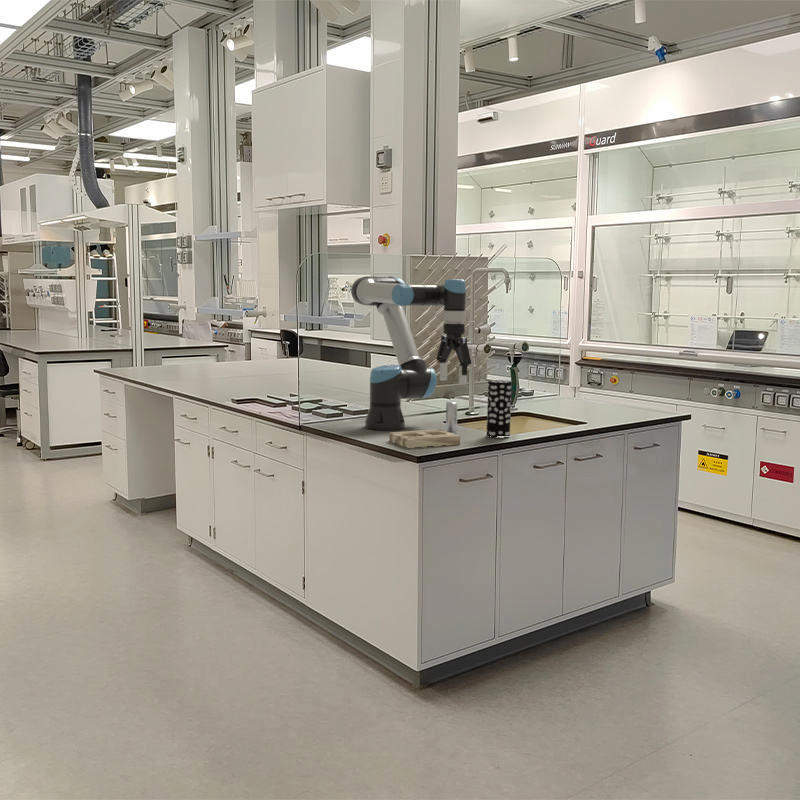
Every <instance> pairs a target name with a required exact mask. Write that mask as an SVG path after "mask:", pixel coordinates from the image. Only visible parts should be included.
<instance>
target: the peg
mask: <svg viewBox="0 0 800 800" xmlns="http://www.w3.org/2000/svg"><path fill="white" fill-rule="evenodd" d="M445 406H446V409H445V410H446V411H445V412H446V413H445V431H447V432H450V433H453V434H456V435H458V434H457V433H458V428H457V427H458V402H457V401H447V402H446V405H445Z"/></svg>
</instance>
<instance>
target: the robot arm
mask: <svg viewBox="0 0 800 800" xmlns="http://www.w3.org/2000/svg"><path fill="white" fill-rule="evenodd" d="M466 284H467V283H466V281H465V280H464V279H463V278H462V279H459V278H458V279H457V278H449V279H448V278H447V279H445V281H444V284H415V283H413V284H412V283H405V281H403V279H402V278H399V277H394V276H369V275H368V276H362V277H359V278H357V279H356V280H354V282H353V283H352V285H351V289H350V295H351V297H352V299H353V300H354V301H355V302H356V303H358V304H359V305H363V306H369V307H371V306H372V307H373V306H374V307H376V310H377V312H378V314H380V315H382V316H383V318H384V321H385V325H386V328H387V329H386V330H387V331H388V335H389V338H390V340H391V344H392V347H393V351H394V354H395V356H396V359H397V362H398V364H391V365H389V364H387V365H381V366H377V367H374V368H372V369H371V371H370V377H369V409H368V412H367V415H366V418H365V421H364V428H366V429H368V428H370V429H369V430H373V429H376V431H396V430H397V431H398V430H403V429H405V426H406V423H405V418H404V415H403V412H402V411H403V410H402V408H401V400H405V399H406V400H407V399H408V400H410V399H423V398H429V397H430V396H432V395H433V394H434V392H435V390H436V386H437V382H438V381H437V379H438V378H437V373H436V370H435V369H434V368H433V367H430V366H427V363H426V360H425V359H423V358H421V357H420V355H419V352H418V347H417V345H416V342H415V339H414V337H413V334H412V330H411V328H410V324H409V321H408V319H407V315H406V312H405V310H404V309H405V307H407V306H409V307H410V306H424V307H425V306H427V307H428V306H429V307H435V306H436V307H438V306H439V307H443V322H444V324H443V335H441V337H440V345H439V347H438V351H437V355H436V361H438V362H439V381H440V382H443V381H444V382H445V381H448V358H449V357H450V354H451V352H452V350H453V351H455V353H456V355H457V358H458V361H459V366H458V367H459V371H458V373H459V374H458V385H460V386H461V385H467V384H468V383H467V382H468V367H469V366H470V365H471V364H472V359H471V355H470V351H469V346H468V338H467V337H462V335H464V334H465V333H466V332H465V331H466V330H465V328H466V326H465V321H466V320H465V319H466V301H467V300H466V299H467V298H466V296H467V289H466V288H467V287H466Z"/></svg>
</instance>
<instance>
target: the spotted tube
mask: <svg viewBox="0 0 800 800" xmlns="http://www.w3.org/2000/svg"><path fill="white" fill-rule="evenodd" d="M512 385H513V384H512V381H511V380H503V379H502V380H500V379H496V380H494V379H493V380H488V383H487V386H488V387H487V408H486V409H487V412H486V437H487V436H489V437H488V438H490V436H491V437H497V436H510V435H511V413H512V412H511V410H512V408H511V406H512V389H513V388H512ZM510 437H511V436H510Z"/></svg>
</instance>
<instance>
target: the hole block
mask: <svg viewBox="0 0 800 800" xmlns="http://www.w3.org/2000/svg"><path fill="white" fill-rule="evenodd" d="M388 437H389V438H388V439H389V442H390V441H391V442H390V443H392V442H394V443H393V444H395V443H396V445H398V444H399V445H398V446H400V445H401V447H403V446H404V447H403V448H405V447H407V448H406V449H408V448H410V449H415V448H414V447H422V448H428V447H427V446H434V447H443V446H442V445H446V446H456V445H461V435H459V434H457V435H456V434H453V433H450V432H447V431H446V430H445V429H440V428H437V429H425V430H423V429H421V430H410V431H409V430H407V431H394V432H393V431H392V432H389V436H388Z"/></svg>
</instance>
